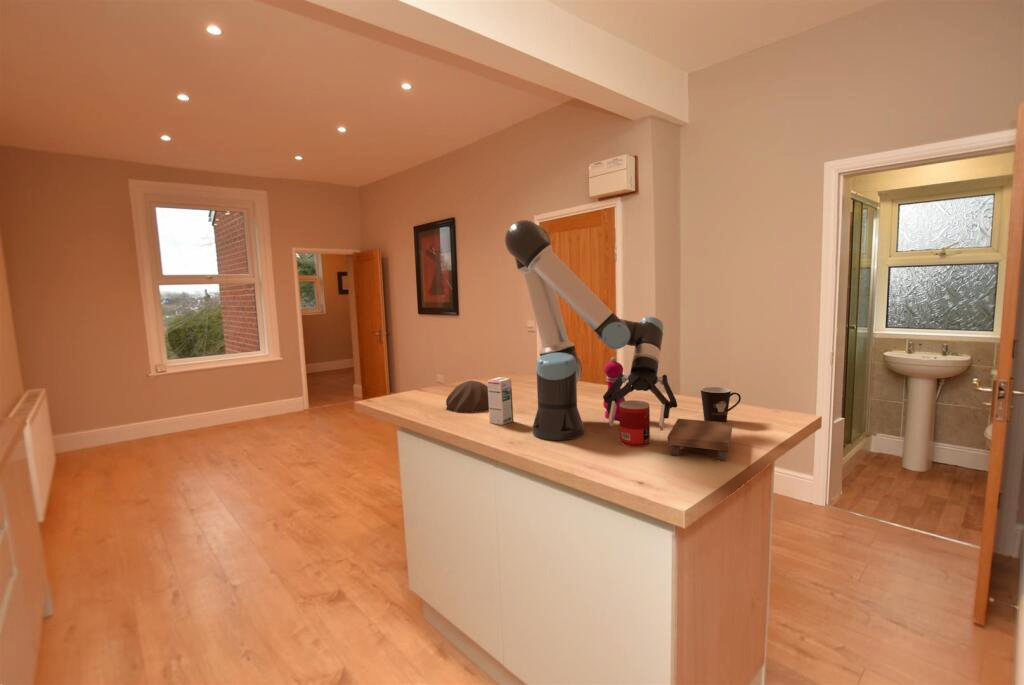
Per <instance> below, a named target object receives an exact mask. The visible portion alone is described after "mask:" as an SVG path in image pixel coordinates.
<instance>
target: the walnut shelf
mask: <svg viewBox="0 0 1024 685" xmlns="http://www.w3.org/2000/svg"><path fill="white" fill-rule="evenodd" d="M672 426H673V427H672V428H671V430H670V432H669V434H668V435H667V441H666V443H667V445H670V456H673V457H678V456H679V447H686V448H687V447H688V448H698V449H707V450H713V451H714V450H715V451H717V461H718V462H721V461H724V462H726V461H727V452H729V450H730V449H729V448H730V444H731V439H732V437H731V436H732V432H733V422H714V421H704V420H699V419H687V418H677V420H676V422H675V423H674V425H672Z"/></svg>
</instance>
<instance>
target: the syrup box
mask: <svg viewBox="0 0 1024 685" xmlns="http://www.w3.org/2000/svg"><path fill="white" fill-rule="evenodd" d="M486 383H487V384H486V385H487V386H488V401H489V410H488V414H489V415H488V417H489V423H490V424H494V425H500V426H504V425H506V424H508V423H511V422H512V423H513V422H514V410H513V409H514V408H513V407H514V406H513V392H512V391H513V390H512V386H513V385H512V378H510V377H505V376H503V377H499V376H498V377H494V378H492V379H488V380H487V382H486Z"/></svg>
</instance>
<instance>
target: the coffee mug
mask: <svg viewBox="0 0 1024 685" xmlns="http://www.w3.org/2000/svg"><path fill="white" fill-rule="evenodd" d="M700 394H701V404H702V413H703V421H714V422H726V423H728V422H727V421H728V412H730V411H731V410H733V409H734V408H736V407H737V406H738V405H739V404H740V402H741V399H742V398H741V395H740V393H738V392H734V391H733V392H732V389H730V388H727V387H719V386H704V387H701V388H700ZM733 395H736V396H737V397H738V400H737V401H736V403H734V404H733V405H732V406H731V407H729V406H730V401H731V400H730V399H731V396H733Z"/></svg>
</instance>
